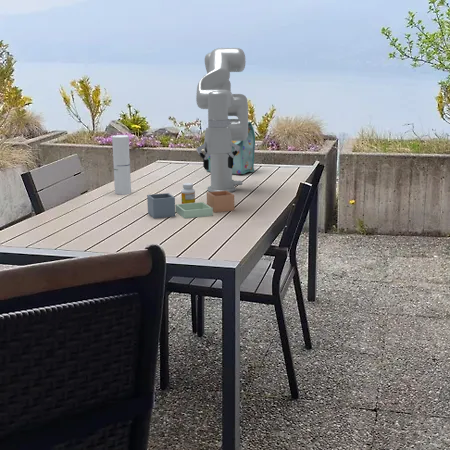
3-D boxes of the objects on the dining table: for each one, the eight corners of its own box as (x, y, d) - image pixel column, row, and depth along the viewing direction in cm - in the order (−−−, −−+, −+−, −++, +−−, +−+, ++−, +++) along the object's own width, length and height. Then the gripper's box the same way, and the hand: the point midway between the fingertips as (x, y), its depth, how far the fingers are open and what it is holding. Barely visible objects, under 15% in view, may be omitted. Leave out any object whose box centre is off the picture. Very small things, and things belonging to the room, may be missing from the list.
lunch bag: (202, 172, 345) (201, 119, 338) (219, 167, 358) (219, 116, 351) (241, 176, 333) (241, 121, 326) (257, 171, 347) (258, 118, 340)
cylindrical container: (128, 194, 295) (125, 137, 288) (112, 194, 296) (109, 137, 290) (133, 191, 302) (131, 135, 295) (118, 190, 303) (115, 135, 297)
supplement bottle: (181, 206, 273) (181, 182, 271) (194, 206, 274) (194, 182, 271) (181, 209, 268) (181, 185, 266) (195, 209, 269) (195, 185, 266)
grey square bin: (169, 213, 262) (168, 193, 260) (175, 218, 255) (174, 197, 253) (147, 215, 259) (147, 194, 257) (153, 220, 252) (153, 199, 250)
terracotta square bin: (226, 207, 271) (226, 190, 269) (234, 212, 263) (234, 194, 261) (206, 209, 268) (206, 192, 266) (214, 214, 260) (214, 196, 258)
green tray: (203, 210, 266) (202, 202, 265) (212, 217, 255) (212, 208, 254) (175, 213, 262) (175, 204, 261) (184, 220, 252) (184, 210, 251)
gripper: (235, 122, 263) (235, 165, 267) (193, 124, 257) (194, 168, 262) (242, 124, 256) (242, 168, 261) (199, 126, 251) (200, 171, 255)
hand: (218, 168), depth 261 cm, fingers open, 9 cm apart
